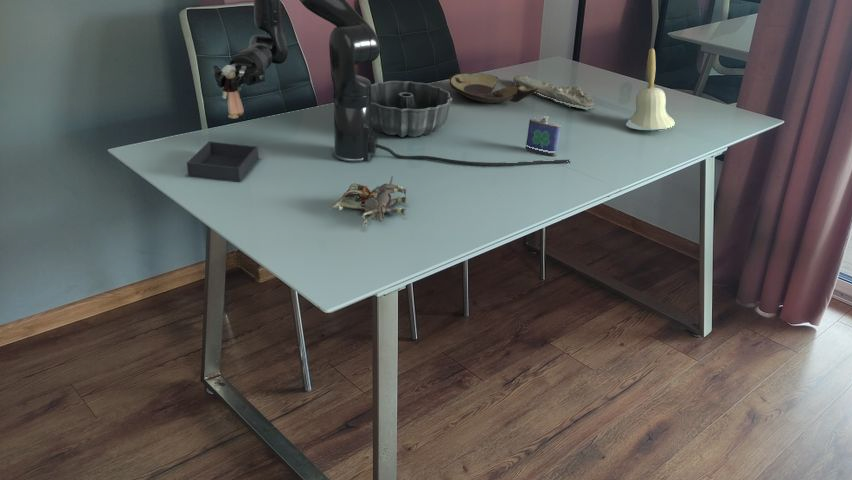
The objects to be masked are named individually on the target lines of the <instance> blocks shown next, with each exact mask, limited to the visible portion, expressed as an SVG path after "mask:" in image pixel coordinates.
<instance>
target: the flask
mask: <svg viewBox="0 0 852 480" xmlns="http://www.w3.org/2000/svg"><path fill="white" fill-rule="evenodd" d="M549 119H550V117H549V115H543V116H542V118H541V119H540V118H538V117H535V118H534V117H533V118H529V121H528V129H527V136H526V143H525V151H527V152H531V153H534V154H540V155H543V156H548V157H557V155H558V150H559V149H558V148H559V141H560V135H561V129H562V126H561V123H560V124H559V123H555V122H550V121H548V120H549ZM526 145H528V146H530V147H534V148H538V149H543V150H548V151H557V153H548V152H543V151H539V150H535V149H532V148H529V147H527V146H526Z"/></svg>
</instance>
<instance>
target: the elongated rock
mask: <svg viewBox="0 0 852 480" xmlns="http://www.w3.org/2000/svg"><path fill="white" fill-rule="evenodd" d="M515 84H516V86H517V87H518V88H519V87H520V86H524V87H525V88H527V89H532V88H538V90H537V91H536V93H533V94H534V95H536V96H538V97H539V98H543V99H547V100H549V101H553V102H554V103H556V104H559V105H563V106H565V107H567V108H569V109H572V108H571V107H572V106H569V105H566V104H563V103H560V102H556V101H554V100H552V99H549V98H547V97H550V98H553V99H556V100H558V101H562V102H566V103H570V104H573V105H579V106H583V107H591V106H593V105H595V106H596V103H595V101H594V99H593V98H592V96H591V95H589V94H588V93H586V92H584V91H583V90H582V89H581V87H580V86H556V85H554V84H551V83H549V82H545V81H542V80H539V79H536V78H533V77H531V76H529V75H528V76H527V75H516V76H514V77H513V79H512V85H515ZM537 93H540V94H542V95H544V96H547V97H543V96H541V95H539V94H537Z"/></svg>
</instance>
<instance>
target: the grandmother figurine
mask: <svg viewBox="0 0 852 480" xmlns="http://www.w3.org/2000/svg"><path fill="white" fill-rule="evenodd" d="M221 69H222V72H223V75H225V77H226V78H227V80H226V81H225V85H224V87H222V96H221V98H222V100H227V111H228V115H227V117H228V118H229V119H239V118H240V117H239V116H243V115H244V112H245V109H244V105H243V102H242V100H241V96H240V93H239V91H241V90H242V86H239V87H237V88H236V89H232V85H231V80H232V79H233V78H235V76H236V74H235V71H236V69H235V67H234V66H232V65H229V64H226V65H225V66H224V67H222V68H221Z"/></svg>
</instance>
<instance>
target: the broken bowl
mask: <svg viewBox="0 0 852 480" xmlns="http://www.w3.org/2000/svg"><path fill="white" fill-rule="evenodd" d="M448 80H449V86H450V87H451V88H452V89H453V90H455V91H456V92H458V93H459V94H461V95H463V96H464V97H466V98H468V99H471V100H472V101H476V102H478V103H485V104H488V103H489V104H496V103H497V104H498V103H505V102H512V103H518V102H521V101H522V100H524V99H526V98H528V96H531V95H533V94H534V92H536V91H537V90H538V88H532V89H527V88H525V87H524V86H520V87H519V86H516V85H513V84H508V85H506V86H505V87H502V88H500V89H497V90H495V91H493V90H494V89H495V87H496V85H497V83H498V81H499V77H498V76H496V75H493V74H488V73H487V74H486V73H480V72H470V73H469V72H464V73H455V74H453V75H451V76H448ZM490 94H491V95H492V97H490V96H489V97H488V95H490ZM493 96H494V97H493Z"/></svg>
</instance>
